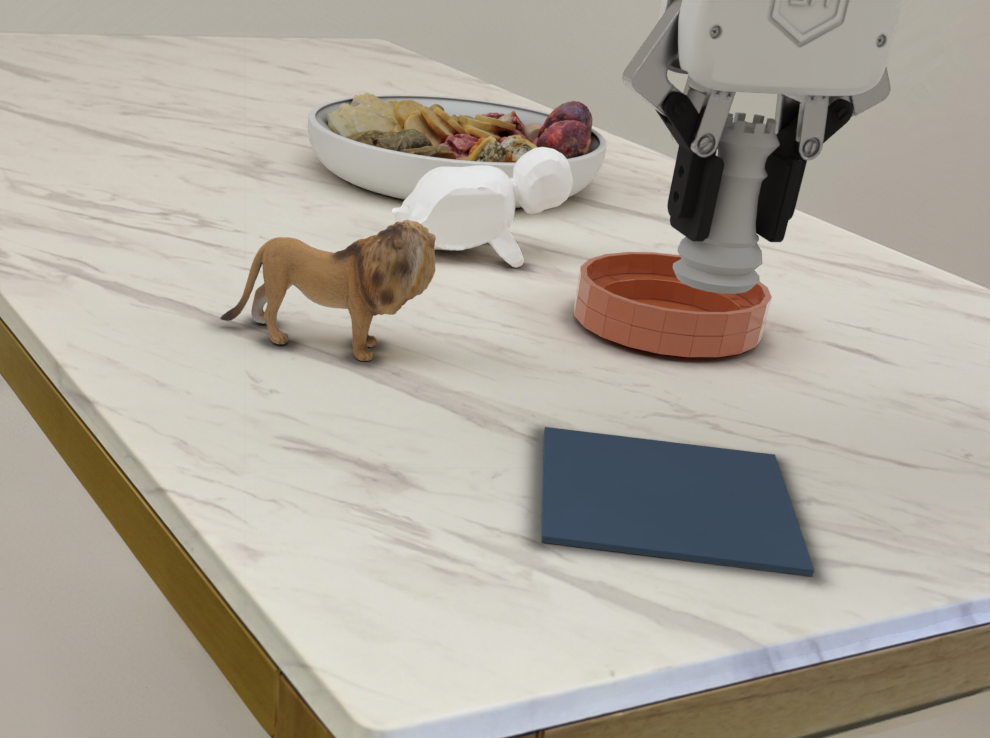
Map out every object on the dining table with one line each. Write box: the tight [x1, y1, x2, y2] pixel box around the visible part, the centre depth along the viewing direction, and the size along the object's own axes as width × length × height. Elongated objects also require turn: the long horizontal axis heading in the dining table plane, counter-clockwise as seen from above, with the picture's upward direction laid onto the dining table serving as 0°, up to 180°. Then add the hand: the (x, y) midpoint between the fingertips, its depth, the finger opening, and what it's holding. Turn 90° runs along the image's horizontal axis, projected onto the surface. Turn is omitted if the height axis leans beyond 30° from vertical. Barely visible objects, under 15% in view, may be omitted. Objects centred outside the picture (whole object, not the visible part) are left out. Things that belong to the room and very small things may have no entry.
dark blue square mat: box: [541, 426, 815, 577], centre depth 71 cm, size 14×14×1 cm
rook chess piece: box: [673, 111, 780, 294], centre depth 63 cm, size 4×4×8 cm
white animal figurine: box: [391, 147, 573, 268], centre depth 106 cm, size 9×8×15 cm
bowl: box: [307, 92, 608, 209], centre depth 128 cm, size 30×30×8 cm
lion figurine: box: [219, 220, 436, 362], centre depth 85 cm, size 15×5×9 cm, turn 79°
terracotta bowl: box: [573, 251, 773, 358], centre depth 95 cm, size 14×14×4 cm
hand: (725, 230), depth 64 cm, fingers closed on rook chess piece, 3 cm apart
